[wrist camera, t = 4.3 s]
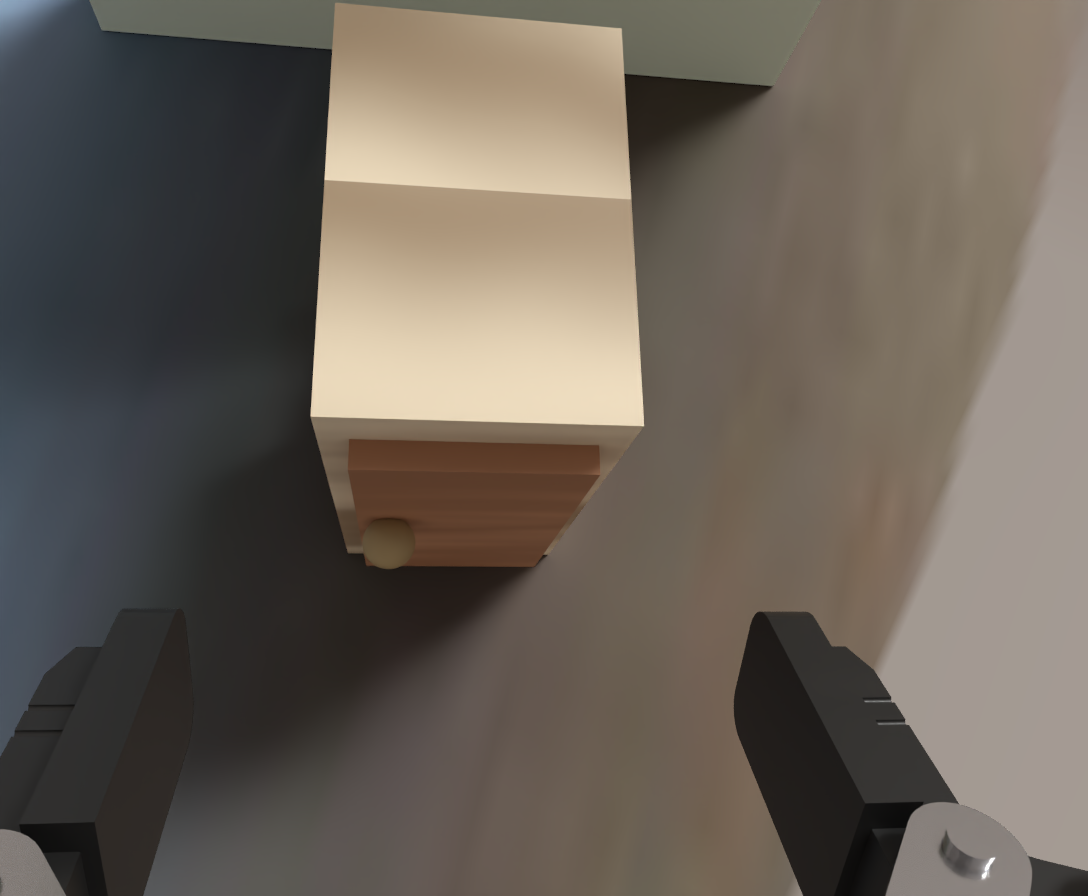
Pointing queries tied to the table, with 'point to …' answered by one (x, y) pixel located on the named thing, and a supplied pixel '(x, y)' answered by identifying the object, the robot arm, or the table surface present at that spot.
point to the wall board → (628, 3)
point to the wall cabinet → (473, 284)
